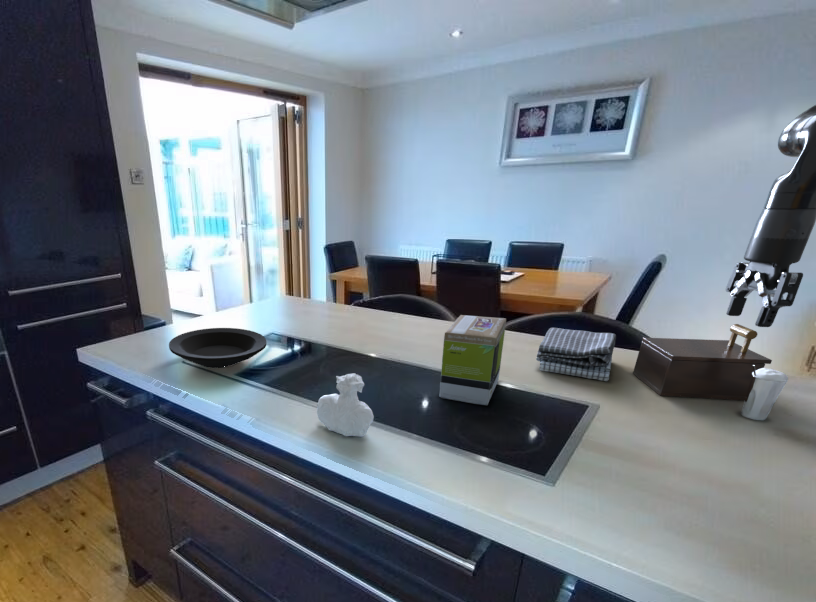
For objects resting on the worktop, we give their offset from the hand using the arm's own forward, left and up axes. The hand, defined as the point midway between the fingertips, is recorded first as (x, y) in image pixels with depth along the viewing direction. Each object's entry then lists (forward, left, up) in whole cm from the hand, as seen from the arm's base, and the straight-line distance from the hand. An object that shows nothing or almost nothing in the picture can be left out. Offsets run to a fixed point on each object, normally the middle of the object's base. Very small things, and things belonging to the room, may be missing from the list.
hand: (747, 320), depth 87 cm
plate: (+113, -12, -15) cm, 115 cm away
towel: (+24, -13, -15) cm, 31 cm away
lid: (+6, -1, -7) cm, 9 cm away
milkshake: (+4, +13, -15) cm, 20 cm away
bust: (+79, +22, -15) cm, 83 cm away
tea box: (+52, +3, -15) cm, 54 cm away
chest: (+6, -1, -15) cm, 16 cm away
